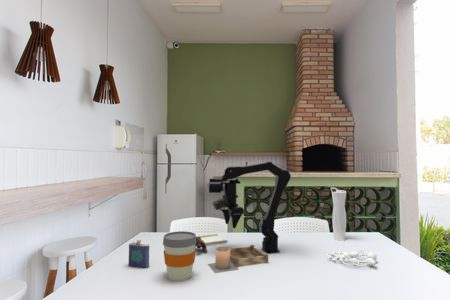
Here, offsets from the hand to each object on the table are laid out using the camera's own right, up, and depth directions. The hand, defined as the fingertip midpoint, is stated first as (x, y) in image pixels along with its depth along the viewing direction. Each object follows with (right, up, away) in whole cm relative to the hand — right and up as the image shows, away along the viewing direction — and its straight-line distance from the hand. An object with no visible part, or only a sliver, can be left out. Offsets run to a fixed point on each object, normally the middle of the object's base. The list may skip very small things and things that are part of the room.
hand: (230, 226), depth 137 cm
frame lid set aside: (-11, -12, +17) cm, 24 cm away
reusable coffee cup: (-20, -12, -28) cm, 36 cm away
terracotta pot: (-3, -11, -20) cm, 23 cm away
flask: (-38, -12, -19) cm, 44 cm away
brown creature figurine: (-16, -12, -1) cm, 20 cm away
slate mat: (-3, -12, -20) cm, 23 cm away
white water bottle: (+60, -13, +21) cm, 64 cm away
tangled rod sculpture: (+52, -12, -14) cm, 55 cm away
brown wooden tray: (+6, -12, -11) cm, 17 cm away
